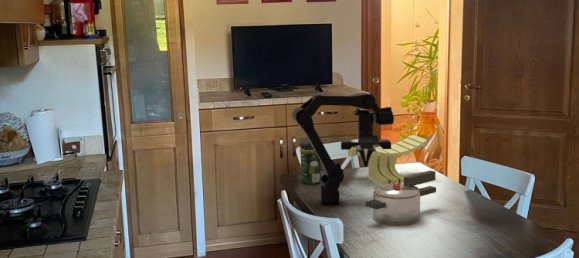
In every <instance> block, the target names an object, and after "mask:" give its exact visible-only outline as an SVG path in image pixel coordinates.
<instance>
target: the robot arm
mask: <svg viewBox="0 0 579 258" xmlns="http://www.w3.org/2000/svg"><path fill="white" fill-rule="evenodd" d="M321 106H336V107H337V106H338V107H339V106H342V107H345V106H346V107H347V106H348V107H355V108H356V109H355V110H354V111H352V115H354V116H357V121H358V122H357V140H358V141H354V142H351V140H352V139H342V140H341V141H340V150H343V151H344V150H346V151H348V150H350V149H351V148H352V147H356V151H357V152H360V154H361V155H360V157H361V159H362V162H363V166H364V167H366V168H367V167H368V162H369V159H370V156H371V154H372V153H373V152H374V151H376V149H375V148H376V147H381V148H382V149H391V145H392V142H391V139H386V138H385V139H380V137H379V135H374V124H375V125H376V126H390V125H391V126H392V125H393V124H394V122H395V117H394V112H393V110H392V107H391V106H386V107H379V105H378V104H377V103H376V98H375V96H374V95H373V94H370V93H368V92H358V93H353V94H348V95H346V94H345V95H344V94H342V95H341V94H318V93H316V94H313V95H312V96H311V97H310V98H308V99H307V100H306V101H305V102H304V103H303V104H301V105H300V106H299V107H296V108H294V109H293V110H292V113H291V118H292V119H293V121H294V122H295V124H296V125H297V126H298V127H299V128H300V129H301V131H302V132H304V135H305V136H306V139H308V140H309V142H310V143H311V145H312V147H313V149H314V151H315V152H316V154H317V156H318V158H319V160H320V165H321V168H322V171H323V175H321V178H320V179H319V182H318V183H319V185H320V205H321V206H328V205H329V206H330V205H331V206H336V205H337V206H338V205H339V203H340V189H339V188H340V185H341V183H342V182H343V181H344V178H345V175H344V173H345V170H343V169H342V167H341V164H340V162H338V161H337V160H336V159H334V160H333V159H332V157H331V156H330V155H329V153H328V150H327V148H326V147H325V145H324V143H323V142H322V139H321V138H320V135H319V134H318V132H317V130H316V129H315V125H314V124H315V123H314V121H313V116H314V115H315V114H316V112H317V111H318V110H319V108H320V107H321ZM369 110H370V111H369ZM364 149H367V154H366V156H365V153H364Z"/></svg>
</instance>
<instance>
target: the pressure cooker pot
mask: <svg viewBox="0 0 579 258" xmlns="http://www.w3.org/2000/svg"><path fill="white" fill-rule="evenodd" d="M435 193H437V187H436V186H431V185H428V186H424V187H421V188H419V194H418V195H417V196H415V197H411V198H401V199H396V198H386V197H381V196H378V195H376V194H375V193H374V190H373V191H372V199H370V200H367V201H365V207H367V208H371V209H372V219H373V221H375V222H376V223H378V224H381V225H385V226H394V227H405V226H411V225H416V224H417V223H419V222H420V220H421V197H424V196H428V195H431V194H435Z"/></svg>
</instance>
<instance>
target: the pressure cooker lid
mask: <svg viewBox="0 0 579 258" xmlns="http://www.w3.org/2000/svg"><path fill="white" fill-rule="evenodd" d="M434 181H436V171H435V170H426V171H421V172H418V173H414V174H409V175H406V176H404V183H398V182H394V183H388V184H381V185H379V184H377V185H376V186H375V187H374V188H373V191H374V193H375V194H376V195H378V196H381V197H386V198H396V199H401V198H411V197H415V196H417V195H418V194H419V189H420V188H419V187H418V185H422V184H427V183H429V182H434Z"/></svg>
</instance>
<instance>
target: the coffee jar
mask: <svg viewBox="0 0 579 258" xmlns="http://www.w3.org/2000/svg"><path fill="white" fill-rule="evenodd" d="M299 149H300V151H299V152H300V153H299V154H300V180H301V181H302V182H303V183H304V184H307V185H308V184H310V185H315V184H318V183H320V182H319V179H320V178H321V177H322V174H321V161H320V160H319V158H318V156H317V154H316V152H315V151H314V149H313V147H312V145H311V143H310V142H309V140H308V138H303V139H302V140H301V141H300V144H299Z"/></svg>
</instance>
